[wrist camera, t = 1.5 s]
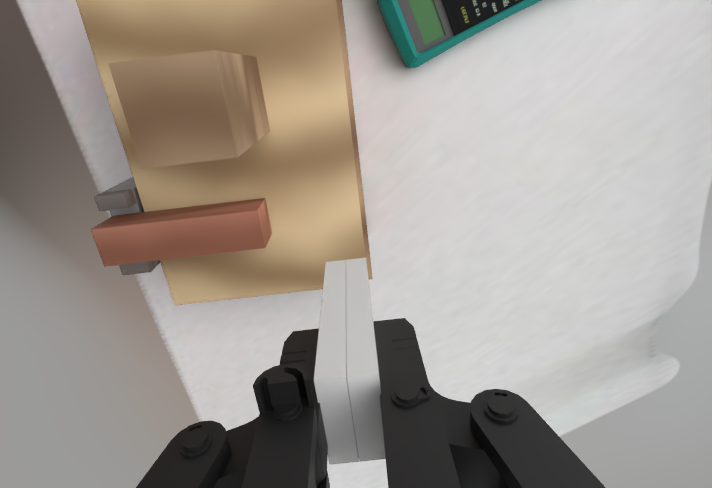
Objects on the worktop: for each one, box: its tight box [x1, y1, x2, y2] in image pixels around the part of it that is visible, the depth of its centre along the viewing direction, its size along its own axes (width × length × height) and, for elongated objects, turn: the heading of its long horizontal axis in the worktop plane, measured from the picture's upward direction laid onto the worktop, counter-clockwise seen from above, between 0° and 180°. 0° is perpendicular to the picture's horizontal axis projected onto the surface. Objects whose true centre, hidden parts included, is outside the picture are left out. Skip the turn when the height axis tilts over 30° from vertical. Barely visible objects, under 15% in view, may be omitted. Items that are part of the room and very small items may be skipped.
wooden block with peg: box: [76, 0, 366, 305], centre depth 22 cm, size 19×13×9 cm
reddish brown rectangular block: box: [91, 198, 272, 266], centre depth 25 cm, size 2×10×2 cm, turn 97°
